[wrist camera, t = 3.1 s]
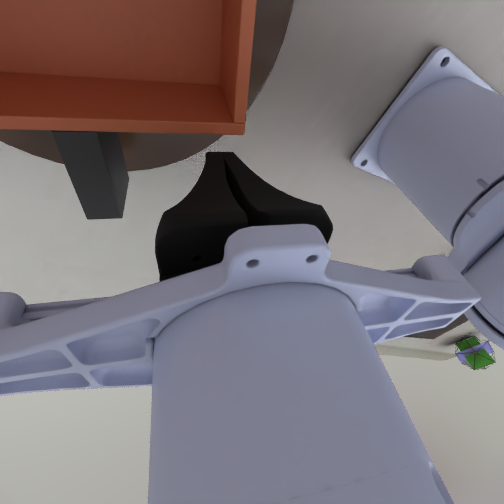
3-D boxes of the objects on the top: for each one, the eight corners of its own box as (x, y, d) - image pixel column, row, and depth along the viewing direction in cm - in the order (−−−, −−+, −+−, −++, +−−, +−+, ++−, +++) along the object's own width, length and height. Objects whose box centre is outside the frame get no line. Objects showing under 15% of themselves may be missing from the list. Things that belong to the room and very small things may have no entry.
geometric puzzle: (451, 349, 59) (474, 383, 58) (486, 336, 57) (511, 371, 56) (443, 336, 66) (463, 367, 65) (473, 324, 63) (495, 355, 62)
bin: (245, -225, 9) (293, -330, 5) (226, 164, 18) (238, 214, 15) (-369, -414, 6) (-1096, -895, 2) (-9, 164, 15) (-58, 225, 12)
